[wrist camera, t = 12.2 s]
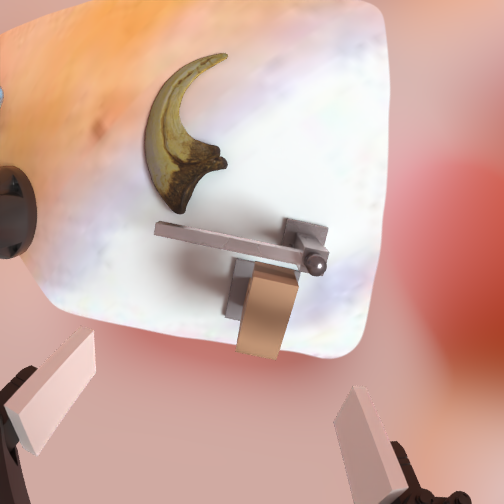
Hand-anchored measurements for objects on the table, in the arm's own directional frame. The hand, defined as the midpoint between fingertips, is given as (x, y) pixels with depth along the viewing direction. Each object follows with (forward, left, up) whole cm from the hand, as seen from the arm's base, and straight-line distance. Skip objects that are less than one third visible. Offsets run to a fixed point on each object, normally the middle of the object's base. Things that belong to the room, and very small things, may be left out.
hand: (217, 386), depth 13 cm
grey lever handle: (-1, +3, -25) cm, 25 cm away
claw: (-10, +14, -25) cm, 31 cm away
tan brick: (+3, -3, -24) cm, 24 cm away
